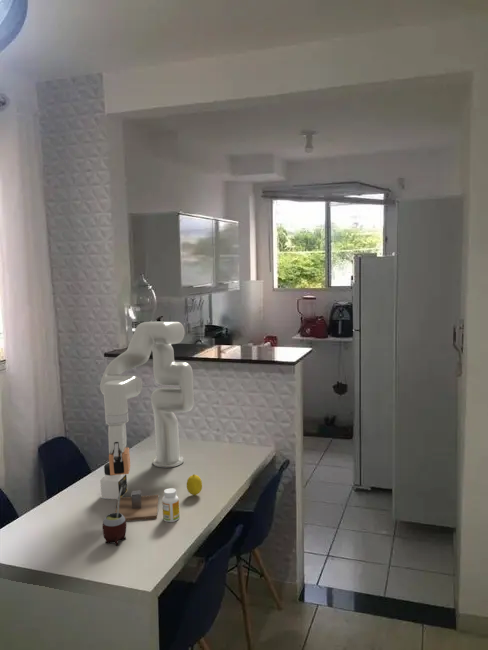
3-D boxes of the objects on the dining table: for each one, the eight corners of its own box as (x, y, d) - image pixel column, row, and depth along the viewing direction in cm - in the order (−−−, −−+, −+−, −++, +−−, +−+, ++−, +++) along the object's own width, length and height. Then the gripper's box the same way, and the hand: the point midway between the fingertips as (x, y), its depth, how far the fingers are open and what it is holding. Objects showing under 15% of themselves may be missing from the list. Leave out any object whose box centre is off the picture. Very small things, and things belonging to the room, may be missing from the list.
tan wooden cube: (112, 468, 193) (111, 448, 192) (130, 466, 194) (129, 447, 193) (110, 475, 187) (108, 455, 186) (128, 473, 188) (127, 453, 187)
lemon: (183, 496, 203) (182, 475, 202) (195, 491, 207) (194, 470, 206) (194, 500, 199) (193, 479, 198) (205, 495, 203) (204, 474, 202)
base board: (118, 500, 201) (118, 497, 201) (158, 497, 202) (158, 494, 202) (113, 522, 185) (113, 519, 185) (156, 518, 187) (156, 515, 186)
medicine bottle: (119, 499, 201) (117, 467, 200) (101, 498, 203) (98, 466, 201) (127, 491, 208) (125, 460, 207) (109, 490, 210) (107, 459, 208)
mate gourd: (106, 549, 168) (102, 501, 166) (101, 537, 176) (98, 491, 173) (130, 543, 171) (127, 496, 169) (125, 531, 178) (122, 486, 176)
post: (132, 504, 195) (132, 491, 194) (141, 504, 195) (140, 490, 194) (132, 508, 192) (131, 494, 191) (141, 508, 192) (140, 494, 192)
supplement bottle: (179, 513, 189) (177, 486, 188) (180, 521, 184) (178, 493, 183) (162, 515, 188) (161, 488, 187) (163, 523, 183) (161, 495, 182)
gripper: (109, 410, 196) (112, 460, 199) (101, 426, 179) (105, 480, 182) (131, 409, 197) (134, 458, 199) (125, 425, 180) (128, 478, 182)
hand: (120, 468), depth 191 cm, fingers closed on tan wooden cube, 5 cm apart
